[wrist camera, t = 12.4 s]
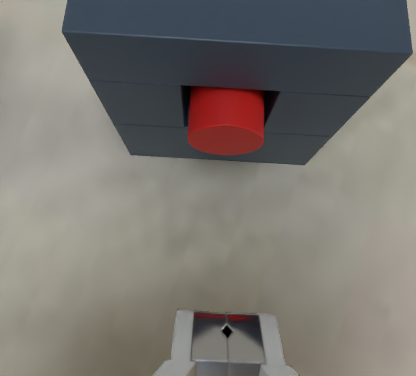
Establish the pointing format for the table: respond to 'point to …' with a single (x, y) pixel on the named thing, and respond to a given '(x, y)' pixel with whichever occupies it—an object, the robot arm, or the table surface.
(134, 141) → the control box
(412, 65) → the table surface
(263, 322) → the robot arm
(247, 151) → the button
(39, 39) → the table surface
